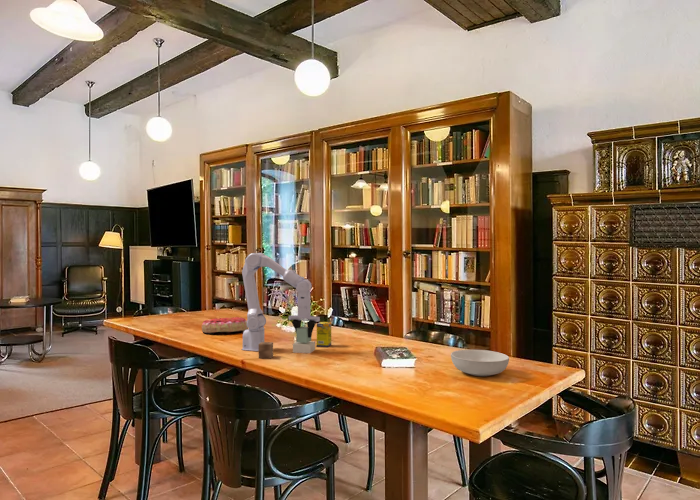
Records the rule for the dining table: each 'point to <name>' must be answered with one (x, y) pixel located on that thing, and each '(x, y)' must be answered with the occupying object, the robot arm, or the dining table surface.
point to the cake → (224, 325)
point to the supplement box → (323, 334)
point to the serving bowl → (479, 362)
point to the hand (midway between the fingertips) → (304, 336)
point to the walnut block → (265, 350)
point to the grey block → (303, 347)
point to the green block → (302, 335)
